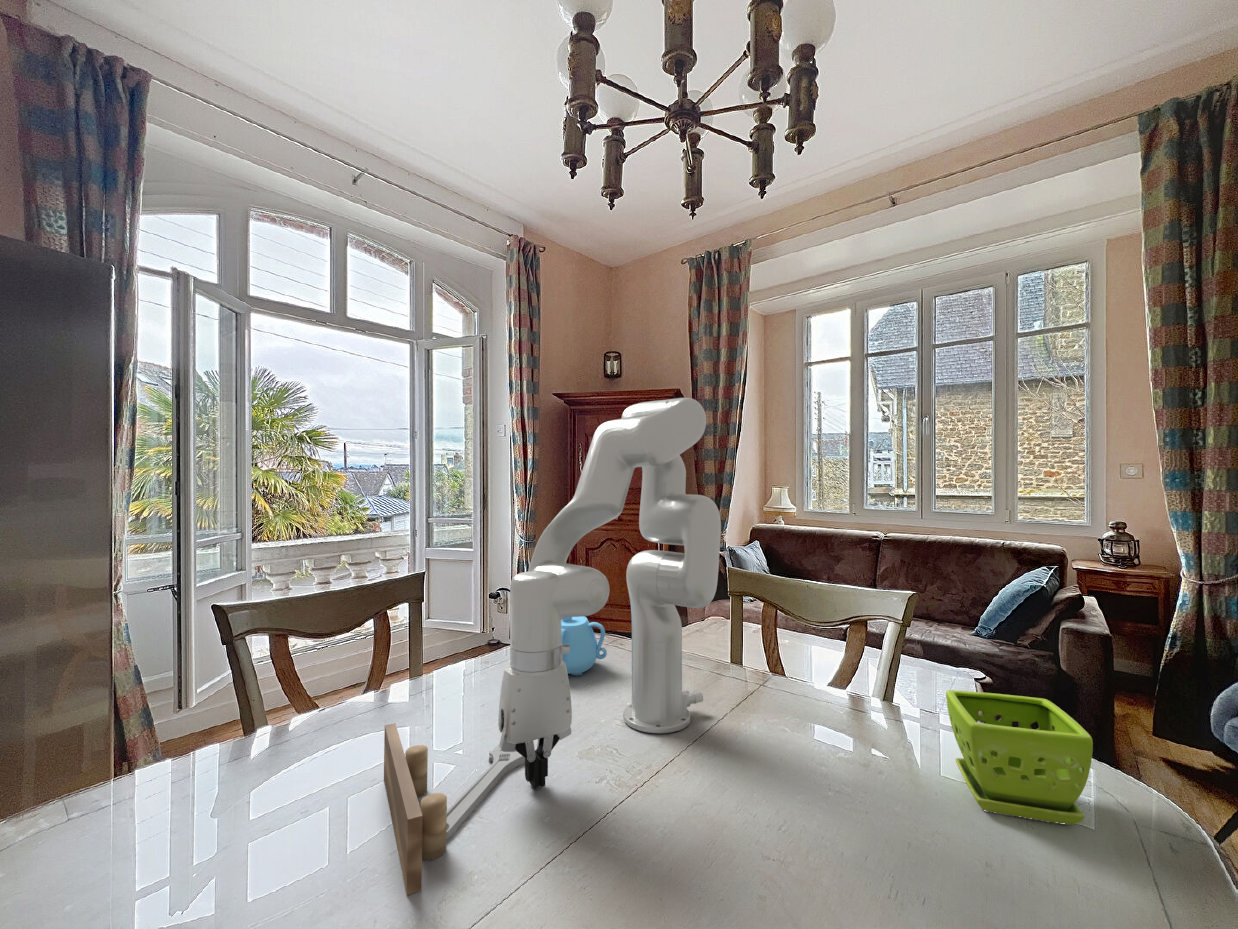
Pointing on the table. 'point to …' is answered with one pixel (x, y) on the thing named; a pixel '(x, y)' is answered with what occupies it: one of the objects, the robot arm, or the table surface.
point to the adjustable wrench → (481, 787)
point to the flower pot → (1021, 755)
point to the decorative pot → (581, 644)
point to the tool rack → (412, 808)
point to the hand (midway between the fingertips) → (536, 783)
